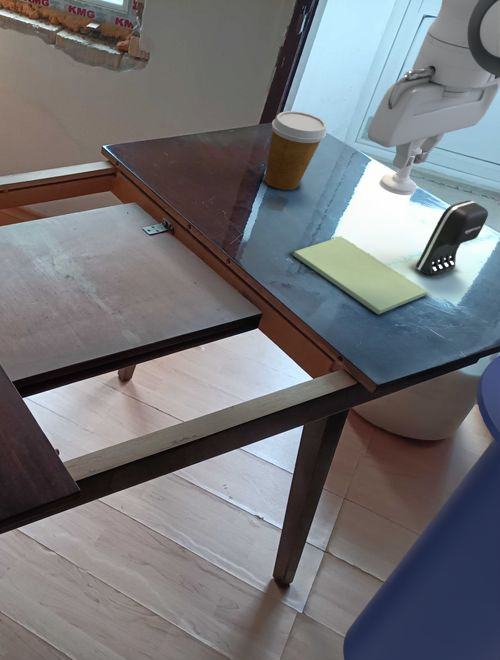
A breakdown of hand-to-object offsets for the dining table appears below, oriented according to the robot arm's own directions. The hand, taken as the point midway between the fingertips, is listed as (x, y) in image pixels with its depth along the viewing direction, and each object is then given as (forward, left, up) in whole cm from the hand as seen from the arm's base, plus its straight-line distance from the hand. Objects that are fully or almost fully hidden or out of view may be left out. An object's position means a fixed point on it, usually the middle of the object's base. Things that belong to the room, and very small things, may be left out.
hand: (408, 164), depth 96 cm
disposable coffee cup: (+28, -11, -19) cm, 35 cm away
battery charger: (-5, -13, -19) cm, 23 cm away
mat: (0, +1, -19) cm, 19 cm away
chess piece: (0, 0, -4) cm, 4 cm away
